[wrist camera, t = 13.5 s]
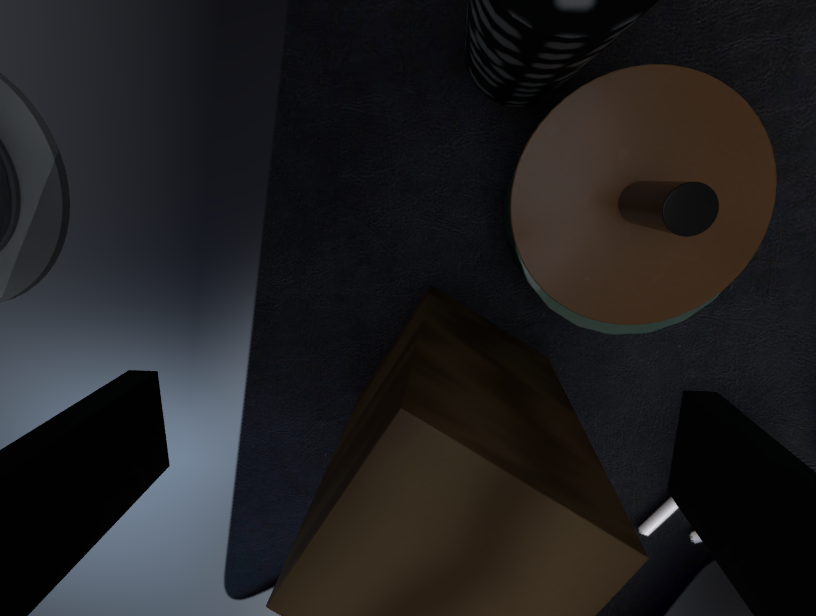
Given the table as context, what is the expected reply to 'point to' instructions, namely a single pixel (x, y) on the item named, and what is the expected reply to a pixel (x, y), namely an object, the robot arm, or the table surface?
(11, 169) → the robot arm
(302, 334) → the table surface
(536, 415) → the stand
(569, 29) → the spotted tube
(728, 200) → the lid
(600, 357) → the table surface
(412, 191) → the table surface
